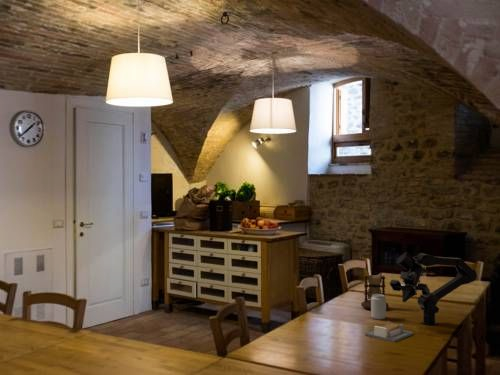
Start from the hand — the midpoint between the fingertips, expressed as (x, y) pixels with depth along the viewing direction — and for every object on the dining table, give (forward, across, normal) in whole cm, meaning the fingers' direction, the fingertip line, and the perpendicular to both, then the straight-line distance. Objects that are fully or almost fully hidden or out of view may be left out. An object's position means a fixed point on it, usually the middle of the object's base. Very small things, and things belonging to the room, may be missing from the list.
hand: (403, 301), depth 259 cm
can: (+2, -20, +17) cm, 27 cm away
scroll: (-10, -33, +30) cm, 45 cm away
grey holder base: (+18, -1, +1) cm, 18 cm away
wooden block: (+12, 0, +2) cm, 12 cm away
